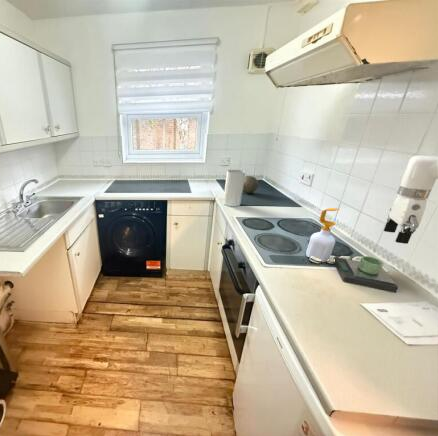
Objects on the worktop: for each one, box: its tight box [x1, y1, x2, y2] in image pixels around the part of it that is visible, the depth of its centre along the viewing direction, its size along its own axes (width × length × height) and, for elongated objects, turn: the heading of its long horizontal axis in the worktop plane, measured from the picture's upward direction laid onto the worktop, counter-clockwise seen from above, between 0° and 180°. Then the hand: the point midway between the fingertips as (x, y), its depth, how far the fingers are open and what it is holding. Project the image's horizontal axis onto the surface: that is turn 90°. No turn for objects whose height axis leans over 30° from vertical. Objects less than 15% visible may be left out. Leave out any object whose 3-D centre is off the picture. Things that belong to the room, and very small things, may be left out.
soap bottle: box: [305, 207, 339, 263], centre depth 106 cm, size 9×9×25 cm
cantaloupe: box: [242, 175, 259, 195], centre depth 202 cm, size 14×14×15 cm
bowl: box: [358, 255, 385, 274], centre depth 95 cm, size 6×6×5 cm
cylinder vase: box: [222, 169, 246, 208], centre depth 175 cm, size 12×12×25 cm
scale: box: [333, 256, 399, 294], centre depth 97 cm, size 16×16×3 cm
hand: (394, 237), depth 88 cm, fingers open, 9 cm apart
